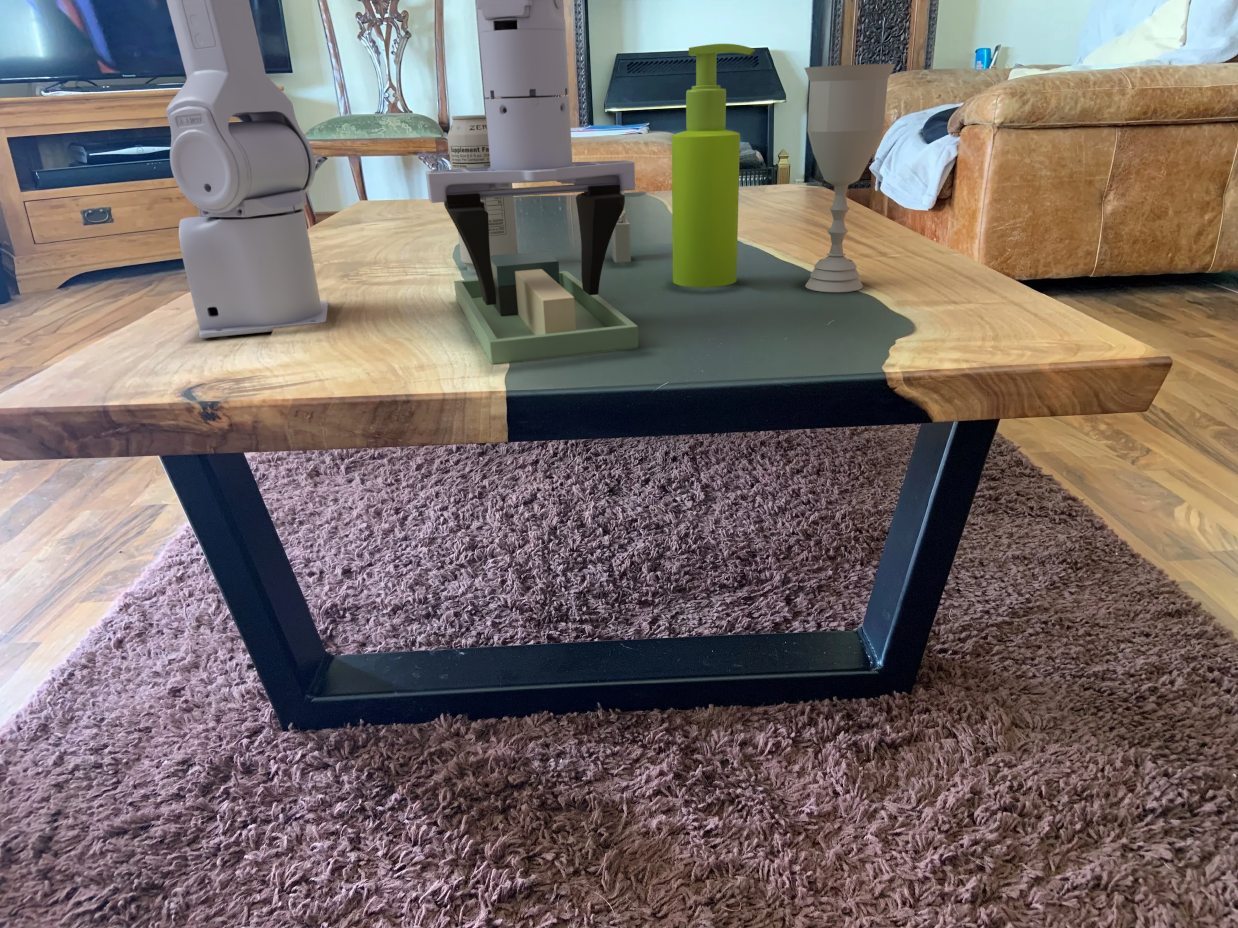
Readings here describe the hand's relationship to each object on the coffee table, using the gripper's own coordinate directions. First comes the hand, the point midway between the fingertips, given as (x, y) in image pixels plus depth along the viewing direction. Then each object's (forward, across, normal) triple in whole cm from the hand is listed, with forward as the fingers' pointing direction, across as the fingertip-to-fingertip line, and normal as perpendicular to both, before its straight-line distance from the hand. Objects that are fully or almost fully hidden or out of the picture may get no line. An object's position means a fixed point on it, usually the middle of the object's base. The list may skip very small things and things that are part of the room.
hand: (540, 297), depth 62 cm
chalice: (+3, +28, +6) cm, 29 cm away
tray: (+3, 0, +3) cm, 4 cm away
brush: (+2, 0, +3) cm, 4 cm away
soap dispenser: (+3, +18, +11) cm, 21 cm away
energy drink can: (+3, 0, +29) cm, 29 cm away
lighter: (+3, +14, +27) cm, 31 cm away
